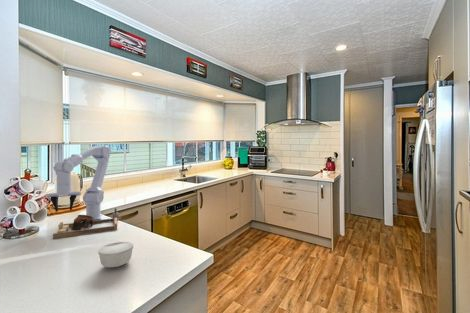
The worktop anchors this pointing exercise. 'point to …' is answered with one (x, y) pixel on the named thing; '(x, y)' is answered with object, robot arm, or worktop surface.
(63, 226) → the beige wooden block
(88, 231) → the wooden frame
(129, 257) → the ramekin
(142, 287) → the worktop surface
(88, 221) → the pottery mug
